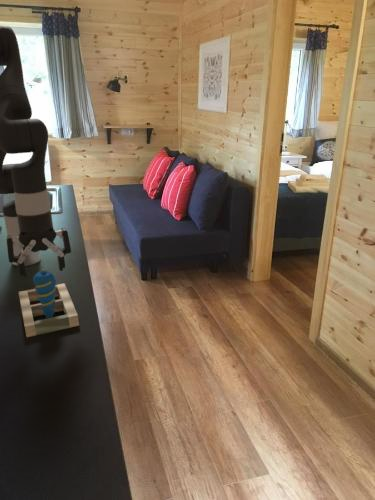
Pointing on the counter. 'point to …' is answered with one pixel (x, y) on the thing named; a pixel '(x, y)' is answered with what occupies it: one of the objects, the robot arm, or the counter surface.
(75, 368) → the counter surface
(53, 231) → the robot arm
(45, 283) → the ornament
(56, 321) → the wooden frame
